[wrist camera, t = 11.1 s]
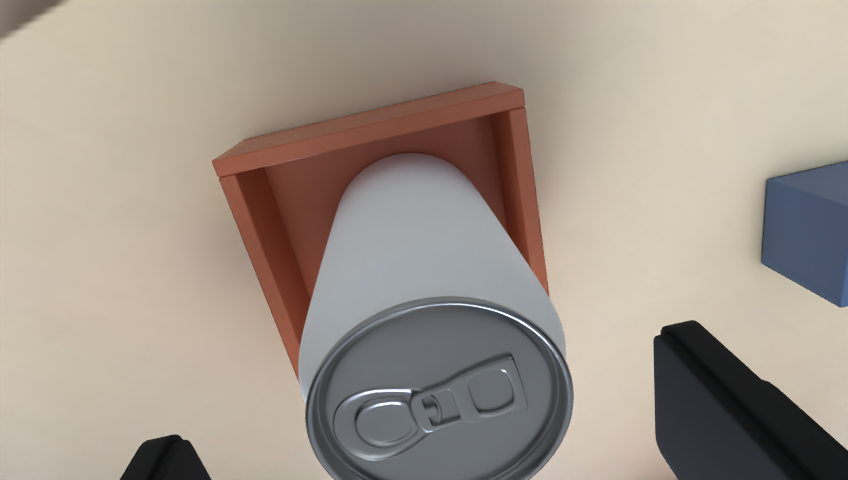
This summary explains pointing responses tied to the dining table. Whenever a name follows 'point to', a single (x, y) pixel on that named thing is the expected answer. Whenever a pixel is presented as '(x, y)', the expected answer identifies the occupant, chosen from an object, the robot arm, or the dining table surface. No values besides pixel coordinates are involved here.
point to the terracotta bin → (346, 157)
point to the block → (810, 230)
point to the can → (429, 337)
